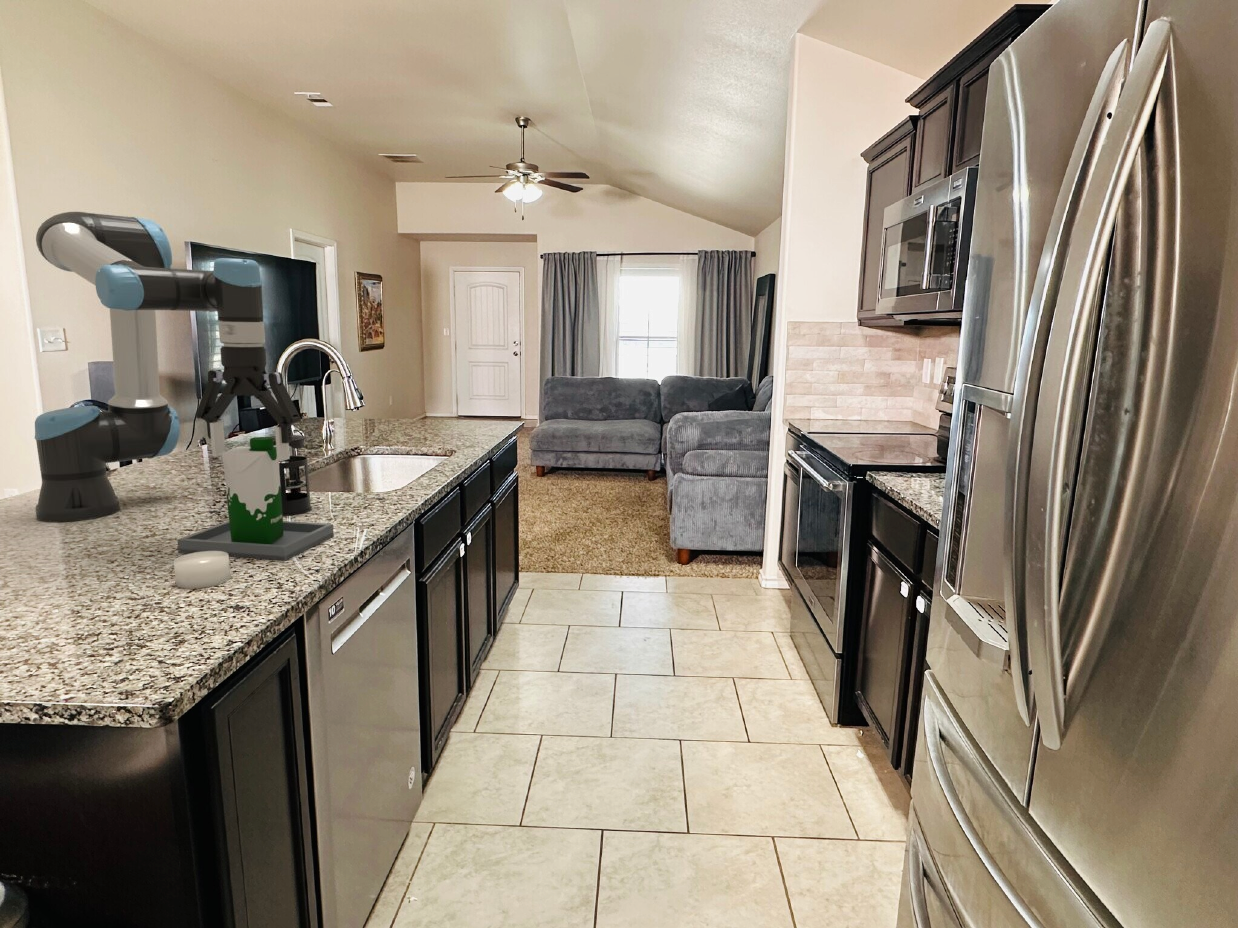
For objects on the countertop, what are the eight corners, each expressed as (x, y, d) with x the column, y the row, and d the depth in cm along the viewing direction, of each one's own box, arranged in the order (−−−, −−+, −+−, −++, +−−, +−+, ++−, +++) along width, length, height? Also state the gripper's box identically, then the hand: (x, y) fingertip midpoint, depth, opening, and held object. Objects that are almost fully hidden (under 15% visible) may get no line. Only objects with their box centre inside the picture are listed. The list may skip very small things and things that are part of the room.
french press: (304, 516, 165) (297, 413, 161) (259, 517, 164) (251, 413, 159) (318, 503, 176) (312, 407, 172) (277, 504, 175) (269, 407, 171)
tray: (178, 552, 138) (177, 539, 138) (236, 529, 154) (235, 517, 153) (285, 560, 135) (284, 547, 134) (333, 536, 150) (332, 524, 150)
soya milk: (273, 546, 140) (265, 442, 136) (223, 547, 139) (214, 442, 136) (290, 533, 149) (282, 435, 145) (243, 534, 148) (234, 435, 144)
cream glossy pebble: (164, 587, 121) (161, 563, 120) (199, 571, 129) (197, 549, 128) (208, 590, 120) (205, 567, 119) (241, 574, 127) (239, 552, 127)
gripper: (167, 343, 135) (178, 457, 140) (292, 348, 131) (299, 465, 135) (197, 342, 143) (206, 450, 147) (316, 346, 138) (322, 458, 143)
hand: (251, 458), depth 141 cm, fingers open, 13 cm apart
